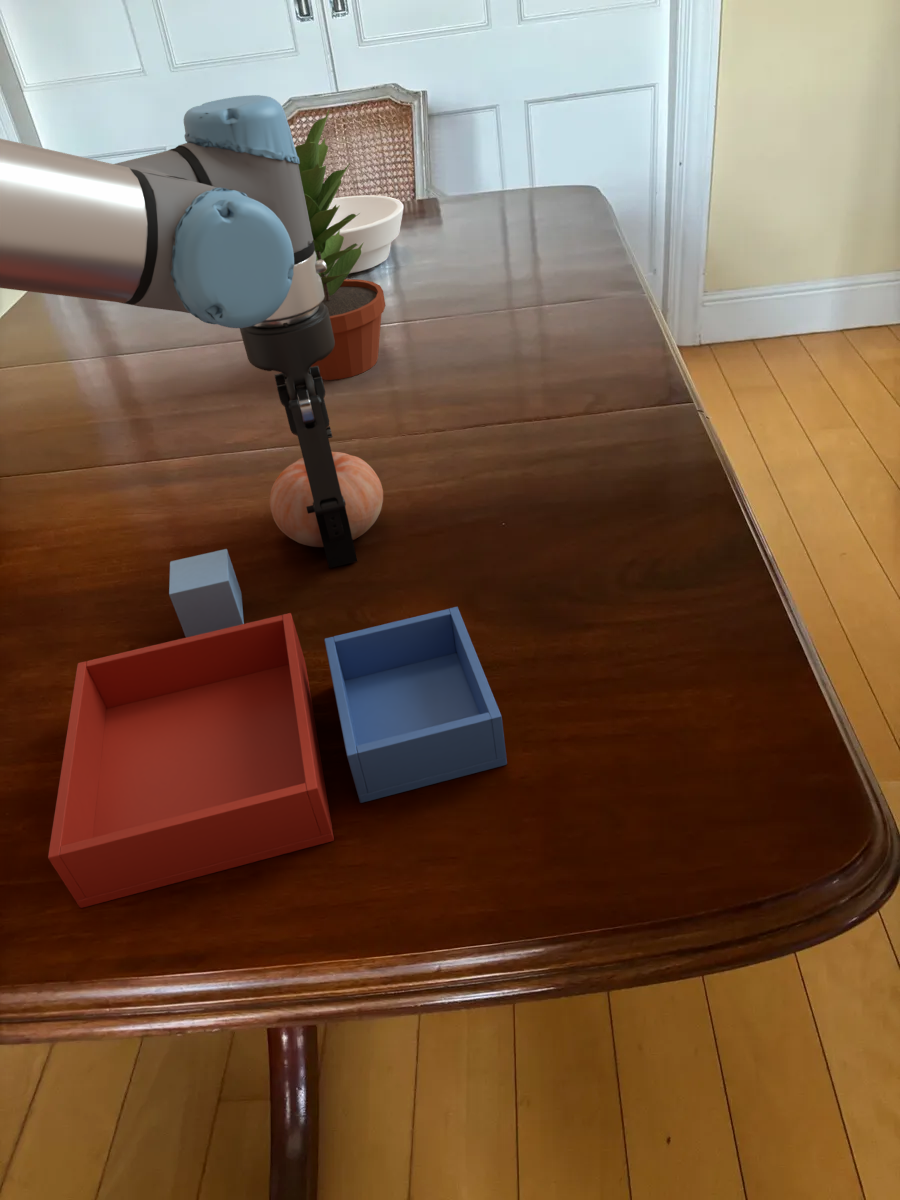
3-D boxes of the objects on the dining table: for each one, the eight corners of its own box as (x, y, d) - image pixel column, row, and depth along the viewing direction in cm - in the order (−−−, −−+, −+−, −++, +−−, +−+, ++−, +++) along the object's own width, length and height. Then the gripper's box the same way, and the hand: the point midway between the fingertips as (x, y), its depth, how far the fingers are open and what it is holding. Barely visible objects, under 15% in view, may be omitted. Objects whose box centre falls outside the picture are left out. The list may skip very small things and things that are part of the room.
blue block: (186, 639, 77) (168, 594, 74) (186, 606, 81) (169, 561, 78) (244, 626, 78) (228, 580, 75) (241, 593, 82) (226, 548, 78)
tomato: (284, 511, 92) (265, 442, 87) (388, 496, 92) (375, 426, 87) (275, 572, 84) (254, 499, 79) (390, 556, 83) (376, 482, 78)
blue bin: (360, 803, 61) (346, 755, 58) (336, 684, 70) (324, 638, 67) (507, 765, 62) (501, 716, 59) (464, 653, 71) (457, 606, 69)
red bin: (80, 908, 57) (47, 858, 53) (102, 712, 71) (77, 662, 68) (334, 841, 58) (317, 787, 55) (305, 662, 73) (290, 612, 70)
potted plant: (263, 371, 122) (200, 127, 103) (352, 334, 129) (308, 99, 110) (324, 400, 112) (266, 137, 94) (417, 358, 119) (380, 106, 101)
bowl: (424, 240, 161) (418, 191, 155) (389, 285, 144) (381, 231, 139) (308, 246, 166) (298, 198, 161) (261, 290, 149) (249, 238, 144)
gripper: (345, 351, 65) (393, 589, 79) (311, 261, 84) (355, 467, 97) (243, 372, 65) (309, 609, 78) (231, 277, 83) (287, 482, 96)
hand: (335, 530), depth 88 cm, fingers closed on tomato, 11 cm apart
